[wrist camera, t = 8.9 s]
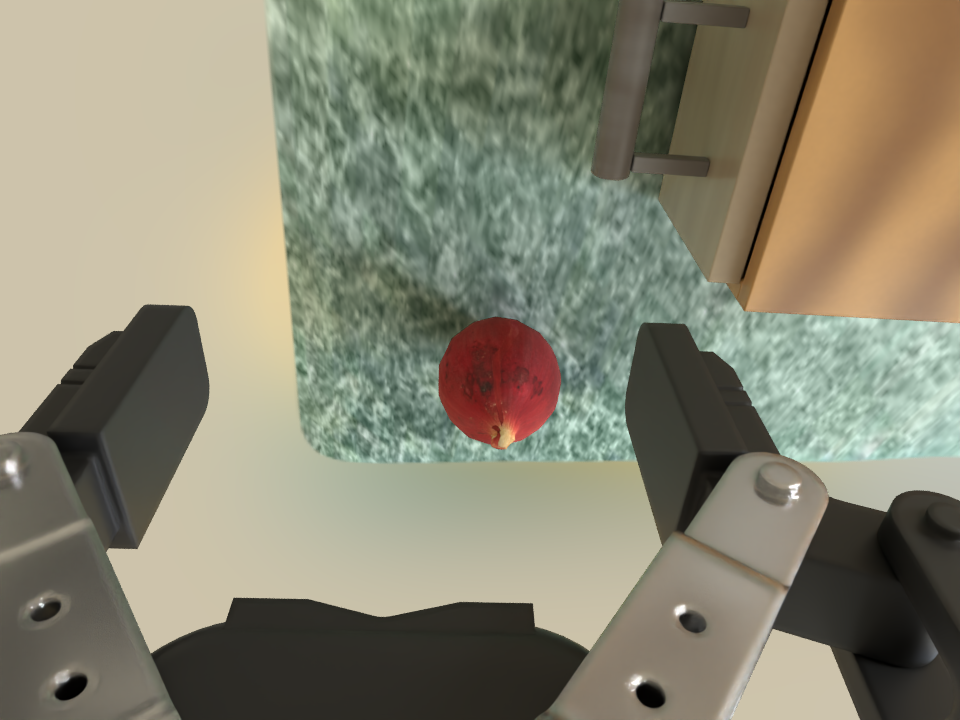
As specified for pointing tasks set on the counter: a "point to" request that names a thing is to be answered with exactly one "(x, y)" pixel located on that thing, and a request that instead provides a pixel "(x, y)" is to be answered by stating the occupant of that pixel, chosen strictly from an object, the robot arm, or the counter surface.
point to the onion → (499, 381)
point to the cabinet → (869, 173)
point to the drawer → (712, 115)
